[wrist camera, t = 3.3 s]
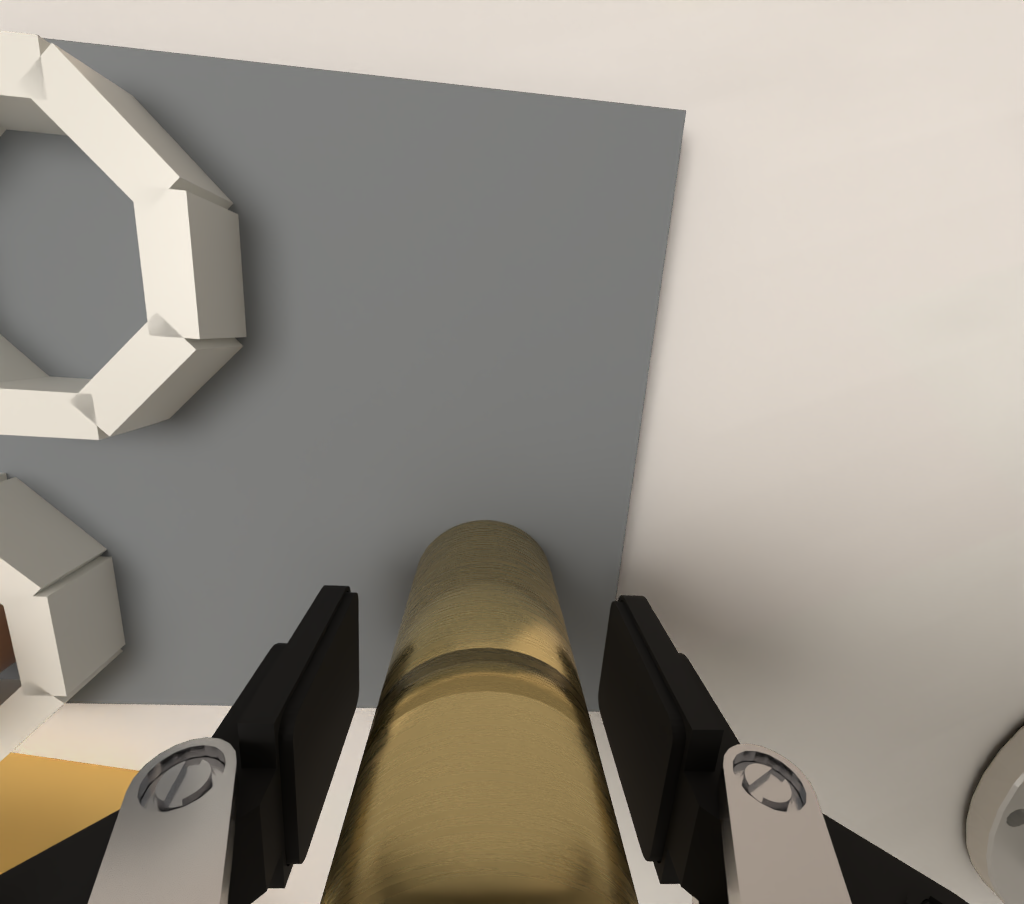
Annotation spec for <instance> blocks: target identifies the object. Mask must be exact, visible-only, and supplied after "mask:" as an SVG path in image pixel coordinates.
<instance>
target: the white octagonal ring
mask: <svg viewBox="0 0 1024 904" xmlns="http://www.w3.org/2000/svg"><path fill="white" fill-rule="evenodd" d="M6 129H7V130H17V131H27V132H37V133H47V134H57V135H67V136H69V137H70V138H71V139H72V140H73V141H74V142H75V143H76V144H77V145H78V146H79V147H80V148H81V149H82V150H83V151H84V152H85V153H86V154H87V155H88V156H89V157H90V158H91V159H92V160H93V161H94V162H95V163H96V164H97V165H98V166H99V167H100V168H101V169H102V170H103V171H104V172H105V173H106V175H107V176H108V177H109V178H110V179H111V180H112V181H113V182H114V183H115V184H116V185H117V186H118V187H119V188H120V189H121V190H122V191H123V192H124V193H125V194H126V195H127V196H128V197H129V198H130V199H131V200H132V201H133V202H134V211H135V219H136V228H137V236H138V245H139V253H140V261H141V270H142V278H143V287H144V295H145V304H146V312H147V321H148V322H147V323H146V324H145V325H144V326H143V327H142V328H141V329H140V330H139V331H138V332H137V333H136V334H135V335H134V336H133V337H132V338H131V339H130V340H129V341H128V342H127V343H126V344H125V345H124V346H123V347H122V348H121V349H120V350H119V351H118V352H117V354H116V355H115V356H114V357H113V358H112V359H111V360H110V361H109V362H108V363H107V364H106V365H105V366H104V367H103V368H102V369H101V370H100V371H99V372H98V373H97V374H96V375H95V376H94V377H93V378H92V379H82V378H66V377H50V376H48V375H47V374H46V373H45V372H44V371H42V370H41V369H40V368H39V367H38V366H37V365H35V364H34V363H33V362H32V361H31V360H30V359H28V358H27V357H26V356H25V355H24V354H23V353H22V352H20V351H19V350H18V349H17V348H16V347H15V346H13V345H12V344H11V343H10V342H9V341H8V340H6V339H5V338H4V337H3V336H2V335H1V334H0V435H17V436H35V437H54V438H72V439H90V440H101V439H104V438H108V437H111V436H114V435H118V434H121V433H125V432H128V431H131V430H135V429H138V428H142V427H145V426H148V425H152V424H155V423H159V422H160V421H164V420H167V419H170V418H171V417H172V416H173V415H174V414H175V413H176V412H177V411H178V410H179V409H180V408H181V407H182V406H183V405H184V404H185V403H186V402H187V401H188V400H189V399H190V398H191V397H192V396H193V395H194V394H195V393H196V392H197V391H198V390H199V389H200V388H201V387H202V386H203V385H204V384H205V383H206V382H207V381H208V380H209V379H210V378H211V377H212V376H213V375H214V374H215V373H216V372H217V371H218V370H219V369H220V368H221V367H223V366H224V365H225V364H226V363H227V362H228V361H229V360H230V359H231V358H232V357H233V356H234V355H235V354H236V353H237V352H238V351H239V350H240V349H241V348H242V347H243V345H242V344H241V343H240V342H239V341H238V340H237V339H236V338H237V337H246V322H245V307H244V292H243V277H242V262H241V248H240V233H239V218H238V214H236V213H234V212H232V211H230V210H228V209H229V207H230V206H231V205H232V204H233V202H232V201H231V200H230V199H229V198H228V197H227V196H226V195H225V194H224V193H223V192H222V191H221V190H220V189H219V187H218V186H217V185H216V184H215V183H214V182H213V181H212V180H211V179H210V178H209V177H208V176H207V175H206V174H205V173H204V171H203V170H202V169H201V168H200V167H199V166H198V165H197V164H196V163H195V162H194V161H193V160H192V159H191V158H190V156H189V155H188V154H187V153H186V152H185V151H184V150H183V149H182V148H181V147H180V146H179V145H178V144H177V143H176V142H175V140H174V139H173V138H172V137H171V136H170V135H169V134H168V133H167V132H166V131H165V130H164V129H163V128H162V127H161V125H160V124H159V123H158V122H157V121H156V120H155V119H154V118H153V117H152V116H151V115H150V114H149V113H148V112H147V110H146V109H145V108H144V107H143V106H142V105H141V104H140V103H139V102H138V101H137V100H136V99H135V98H134V97H133V96H132V95H131V94H129V93H128V92H126V91H125V90H123V89H122V88H120V87H119V86H117V85H116V84H114V83H113V82H111V81H110V80H108V79H106V78H105V77H103V76H102V75H100V74H99V73H97V72H96V71H94V70H93V69H91V68H90V67H88V66H87V65H85V64H84V63H82V62H81V61H79V60H78V59H76V58H75V57H73V56H71V55H70V54H68V53H67V52H65V51H64V50H62V49H61V48H59V47H58V46H56V45H55V44H53V43H49V42H47V41H46V40H44V39H43V38H41V37H40V36H38V35H34V34H25V33H16V32H7V31H0V136H1V135H2V134H3V133H4V132H5V130H6Z"/></svg>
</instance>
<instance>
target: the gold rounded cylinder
mask: <svg viewBox="0 0 1024 904" xmlns="http://www.w3.org/2000/svg"><path fill="white" fill-rule="evenodd" d="M320 904H638V900H637V896H636V892H635V889H634V885H633V881H632V877H631V873H630V870H629V866H628V862H627V858H626V854H625V851H624V847H623V843H622V839H621V835H620V832H619V828H618V824H617V820H616V816H615V813H614V809H613V805H612V801H611V797H610V794H609V790H608V786H607V782H606V778H605V775H604V771H603V767H602V763H601V759H600V756H599V752H598V748H597V744H596V740H595V737H594V733H593V729H592V725H591V721H590V718H589V714H588V710H587V706H586V702H585V699H584V695H583V691H582V687H581V683H580V680H579V676H578V672H577V668H576V664H575V661H574V657H573V653H572V649H571V645H570V642H569V638H568V634H567V630H566V626H565V623H564V619H563V615H562V611H561V607H560V604H559V600H558V596H557V592H556V588H555V585H554V581H553V577H552V573H551V569H550V566H549V562H548V560H547V557H546V555H545V553H544V552H543V550H542V548H541V547H540V546H539V545H538V543H537V542H536V541H535V540H534V539H533V538H532V537H531V536H530V535H528V534H527V533H525V532H524V531H522V530H521V529H519V528H517V527H515V526H512V525H510V524H507V523H503V522H499V521H491V520H477V521H470V522H466V523H462V524H459V525H457V526H454V527H452V528H450V529H448V530H446V531H445V532H443V533H442V534H440V535H439V536H438V537H437V538H435V539H434V540H433V541H432V542H431V543H430V545H429V546H428V547H427V548H426V550H425V551H424V553H423V555H422V557H421V559H420V561H419V564H418V567H417V570H416V574H415V577H414V580H413V584H412V587H411V591H410V594H409V598H408V601H407V605H406V608H405V612H404V615H403V619H402V622H401V626H400V629H399V632H398V636H397V639H396V643H395V646H394V650H393V653H392V657H391V660H390V664H389V667H388V671H387V674H386V678H385V681H384V684H383V688H382V691H381V695H380V698H379V702H378V705H377V709H376V712H375V716H374V719H373V723H372V726H371V729H370V733H369V736H368V740H367V743H366V747H365V750H364V754H363V757H362V761H361V764H360V768H359V771H358V775H357V778H356V781H355V785H354V788H353V792H352V795H351V799H350V802H349V806H348V809H347V813H346V816H345V820H344V823H343V827H342V830H341V833H340V837H339V840H338V844H337V847H336V851H335V854H334V858H333V861H332V865H331V868H330V872H329V875H328V879H327V882H326V885H325V889H324V892H323V896H322V899H321V903H320Z"/></svg>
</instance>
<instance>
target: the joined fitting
mask: <svg viewBox="0 0 1024 904" xmlns="http://www.w3.org/2000/svg"><path fill="white" fill-rule="evenodd" d="M106 550H107V549H106V548H105V547H104V546H102V545H101V544H100V543H99V542H97V541H96V540H95V539H94V538H92V537H91V536H90V535H89V534H87V533H86V532H85V531H84V530H82V529H81V528H80V527H79V526H77V525H76V524H75V523H73V522H72V521H71V520H70V519H68V518H67V517H66V516H65V515H63V514H62V513H61V512H60V511H58V510H57V509H56V508H55V507H53V506H52V505H51V504H50V503H48V502H47V501H46V500H44V499H43V498H42V497H41V496H39V495H38V494H37V493H36V492H34V491H33V490H32V489H31V488H29V487H28V486H27V485H26V484H24V483H23V482H22V481H21V480H19V479H18V478H17V477H14V478H11V479H8V480H7V476H6V473H0V672H2V671H3V670H5V669H6V668H7V667H9V666H10V665H12V664H13V663H14V662H16V663H17V667H18V672H19V676H20V680H12V679H0V761H1V760H3V759H4V758H5V757H6V756H7V755H8V754H9V753H10V752H11V751H13V750H14V749H15V748H16V747H17V746H18V745H19V744H20V743H21V742H23V741H24V740H25V739H26V738H27V737H28V736H29V735H30V734H31V733H33V732H34V731H35V730H36V729H37V728H38V727H39V726H40V725H41V724H43V723H44V722H45V721H46V720H47V719H48V718H49V717H50V716H52V715H53V714H54V713H55V712H56V711H57V710H58V709H59V708H60V707H62V706H63V705H64V704H65V703H66V702H67V701H68V700H69V699H70V698H71V697H73V696H74V695H75V694H76V693H77V692H78V691H79V690H80V689H81V688H83V687H84V686H85V685H86V684H87V683H88V682H89V681H90V680H91V679H92V678H94V677H95V676H96V675H97V674H98V673H99V672H100V671H101V670H102V669H104V668H105V667H106V666H107V665H108V664H109V663H110V662H111V661H112V660H113V659H115V658H116V657H117V656H118V655H119V654H120V653H121V652H122V651H123V650H121V648H122V647H123V646H124V645H125V638H124V632H123V625H122V619H121V612H120V606H119V600H118V593H117V587H116V580H115V574H114V567H113V561H112V557H104V556H100V555H102V554H103V553H104V552H105V551H106Z"/></svg>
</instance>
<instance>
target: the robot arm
mask: <svg viewBox="0 0 1024 904" xmlns="http://www.w3.org/2000/svg"><path fill="white" fill-rule="evenodd" d="M358 697H359V599H358V593H356V592H351V590H350V587H349V586H337V585H324V586H323V587H322V588H321V590H320V592H319V593H318V595H317V596H316V598H315V600H314V601H313V603H312V604H311V606H310V608H309V609H308V611H307V612H306V614H305V616H304V617H303V619H302V620H301V622H300V624H299V625H298V627H297V629H296V630H295V632H294V633H293V635H292V637H291V638H290V640H289V641H288V643H277V644H274V645H273V647H272V648H271V649H270V650H269V652H268V653H267V655H266V656H265V658H264V659H263V661H262V662H261V664H260V665H259V667H258V668H257V670H256V671H255V673H254V674H253V676H252V677H251V679H250V680H249V682H248V683H247V685H246V686H245V688H244V689H243V691H242V692H241V694H240V695H239V697H238V698H237V700H236V701H235V703H234V704H233V706H232V708H231V709H230V711H229V712H228V714H227V715H226V717H225V718H224V720H223V721H222V723H221V724H220V726H219V727H218V729H217V730H216V732H215V733H214V735H213V736H212V738H208V737H206V738H200V739H193V740H189V741H186V742H183V743H181V744H178V745H175V746H173V747H171V748H170V749H168V750H166V751H164V752H162V753H160V754H159V755H157V756H156V757H155V758H154V759H152V760H151V761H150V762H148V763H147V764H146V765H145V766H144V767H143V768H142V769H141V770H140V771H139V772H138V773H137V775H136V776H135V777H134V778H133V780H132V781H131V783H130V785H129V787H128V789H127V791H126V793H125V796H124V799H123V802H122V805H121V808H120V809H119V810H117V811H115V812H114V813H112V814H110V815H108V816H106V817H105V818H103V819H101V820H99V821H97V822H95V823H94V824H92V825H90V826H88V827H86V828H84V829H83V830H81V831H79V832H77V833H75V834H73V835H72V836H70V837H68V838H66V839H64V840H62V841H61V842H59V843H57V844H55V845H53V846H52V847H50V848H48V849H46V850H44V851H42V852H41V853H39V854H37V855H35V856H33V857H31V858H30V859H28V860H26V861H24V862H22V863H20V864H19V865H17V866H15V867H13V868H11V869H9V870H8V871H6V872H4V873H2V874H0V904H251V903H252V902H254V901H255V900H256V899H257V898H259V897H260V896H261V895H262V894H264V893H265V892H266V891H267V889H268V888H285V886H286V883H287V880H288V878H289V875H290V872H291V869H292V866H293V864H302V863H303V861H304V860H305V857H306V855H307V852H308V849H309V846H310V843H311V840H312V837H313V834H314V831H315V828H316V825H317V822H318V819H319V816H320V813H321V810H322V807H323V805H324V802H325V799H326V796H327V793H328V790H329V787H330V784H331V781H332V778H333V775H334V772H335V769H336V766H337V763H338V760H339V757H340V754H341V751H342V748H343V745H344V742H345V739H346V736H347V733H348V730H349V727H350V724H351V721H352V718H353V716H354V713H355V710H356V706H357V703H358ZM598 705H599V710H600V714H601V717H602V720H603V724H604V727H605V731H606V734H607V737H608V741H609V744H610V747H611V751H612V754H613V757H614V761H615V764H616V767H617V771H618V774H619V777H620V781H621V784H622V787H623V791H624V794H625V797H626V801H627V804H628V807H629V811H630V814H631V817H632V821H633V824H634V827H635V831H636V834H637V837H638V841H639V844H640V847H641V851H642V854H643V856H644V858H645V860H646V861H653V862H654V865H655V869H656V872H657V875H658V878H659V881H660V884H680V885H681V887H682V888H684V889H685V890H686V891H687V892H688V893H690V894H691V895H692V904H969V903H967V902H966V901H964V900H963V899H961V898H960V897H959V896H957V895H956V894H954V893H953V892H951V891H949V890H948V889H946V888H945V887H943V886H941V885H940V884H938V883H936V882H935V881H933V880H931V879H930V878H928V877H926V876H925V875H923V874H921V873H920V872H918V871H917V870H915V869H913V868H912V867H910V866H908V865H907V864H905V863H903V862H902V861H900V860H898V859H897V858H895V857H893V856H892V855H890V854H889V853H887V852H885V851H884V850H882V849H880V848H879V847H877V846H875V845H874V844H872V843H870V842H869V841H867V840H866V839H864V838H862V837H861V836H859V835H857V834H856V833H854V832H852V831H851V830H849V829H847V828H846V827H844V826H842V825H841V824H839V823H838V822H836V821H834V820H833V819H831V818H829V817H828V816H826V815H824V814H823V813H822V811H821V808H820V805H819V802H818V799H817V796H816V793H815V791H814V789H813V787H812V785H811V783H810V781H809V780H808V779H807V778H806V776H805V775H804V774H803V773H802V772H801V770H800V769H799V768H797V767H796V766H795V765H794V764H793V763H792V762H790V761H789V760H788V759H786V758H785V757H783V756H781V755H780V754H778V753H776V752H775V751H772V750H770V749H767V748H765V747H762V746H759V745H753V744H740V743H739V741H738V740H737V738H736V736H735V735H734V733H733V732H732V730H731V728H730V727H729V725H728V723H727V722H726V720H725V718H724V717H723V715H722V714H721V712H720V710H719V709H718V707H717V705H716V704H715V702H714V701H713V699H712V697H711V696H710V694H709V692H708V691H707V689H706V687H705V686H704V684H703V683H702V681H701V679H700V678H699V676H698V674H697V673H696V671H695V670H694V668H693V666H692V665H691V663H690V661H689V660H688V659H687V657H686V656H685V655H683V654H681V653H678V652H677V650H676V648H675V647H674V645H673V643H672V642H671V640H670V638H669V637H668V635H667V633H666V631H665V630H664V628H663V626H662V625H661V623H660V621H659V620H658V618H657V616H656V615H655V613H654V611H653V610H652V608H651V606H650V605H649V603H648V601H647V599H646V598H645V597H644V596H625V595H621V596H620V597H619V599H618V601H613V602H612V603H611V607H610V613H609V620H608V627H607V634H606V641H605V648H604V655H603V662H602V669H601V676H600V683H599V690H598ZM966 846H967V849H968V852H969V856H970V859H971V863H972V865H973V867H974V868H975V870H976V871H977V873H978V874H979V876H980V877H981V879H982V880H983V881H984V882H985V883H986V885H987V886H988V887H989V888H990V889H991V890H992V891H993V892H994V893H995V894H996V895H997V896H998V897H999V898H1000V900H1001V901H1002V902H1003V903H1004V904H1024V726H1023V727H1021V728H1020V729H1019V730H1018V731H1017V732H1016V734H1015V735H1014V736H1013V737H1012V738H1011V739H1010V740H1009V741H1008V742H1007V743H1006V744H1005V745H1004V746H1003V747H1002V748H1001V749H1000V751H999V752H998V753H997V755H996V756H995V758H994V759H993V760H992V762H991V763H990V765H989V766H988V768H987V769H986V771H985V772H984V773H983V775H982V777H981V779H980V781H979V784H978V786H977V788H976V790H975V792H974V794H973V796H972V799H971V803H970V807H969V812H968V816H967V820H966Z"/></svg>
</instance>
